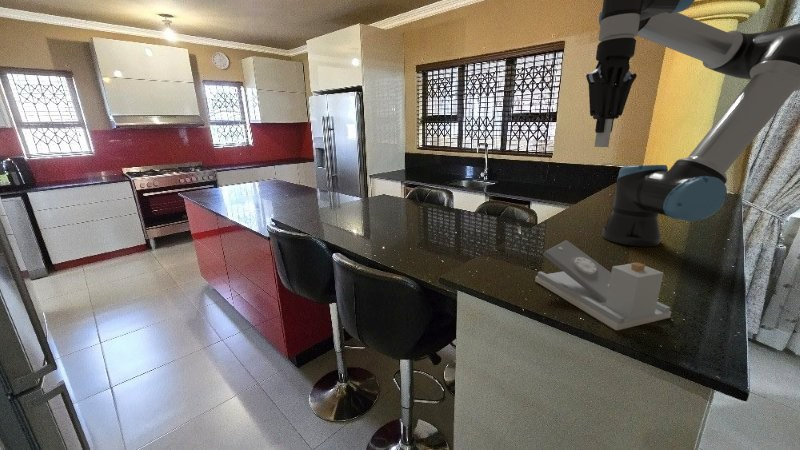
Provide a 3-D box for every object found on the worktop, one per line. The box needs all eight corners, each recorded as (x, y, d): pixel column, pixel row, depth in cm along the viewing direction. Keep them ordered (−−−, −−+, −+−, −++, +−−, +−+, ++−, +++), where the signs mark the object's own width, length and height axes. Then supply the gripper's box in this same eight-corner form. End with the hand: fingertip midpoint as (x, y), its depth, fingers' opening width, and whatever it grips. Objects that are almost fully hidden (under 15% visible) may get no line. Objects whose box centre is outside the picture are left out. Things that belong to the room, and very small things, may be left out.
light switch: (608, 296, 64) (546, 248, 72) (592, 314, 68) (535, 266, 76) (628, 280, 69) (568, 236, 77) (612, 298, 72) (556, 254, 81)
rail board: (580, 273, 82) (585, 232, 79) (670, 317, 63) (682, 265, 60) (535, 281, 78) (539, 238, 75) (616, 330, 59) (626, 276, 56)
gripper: (623, 45, 82) (608, 145, 89) (580, 42, 78) (568, 146, 85) (654, 38, 75) (635, 146, 82) (609, 33, 71) (593, 148, 78)
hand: (601, 146), depth 83 cm, fingers closed
